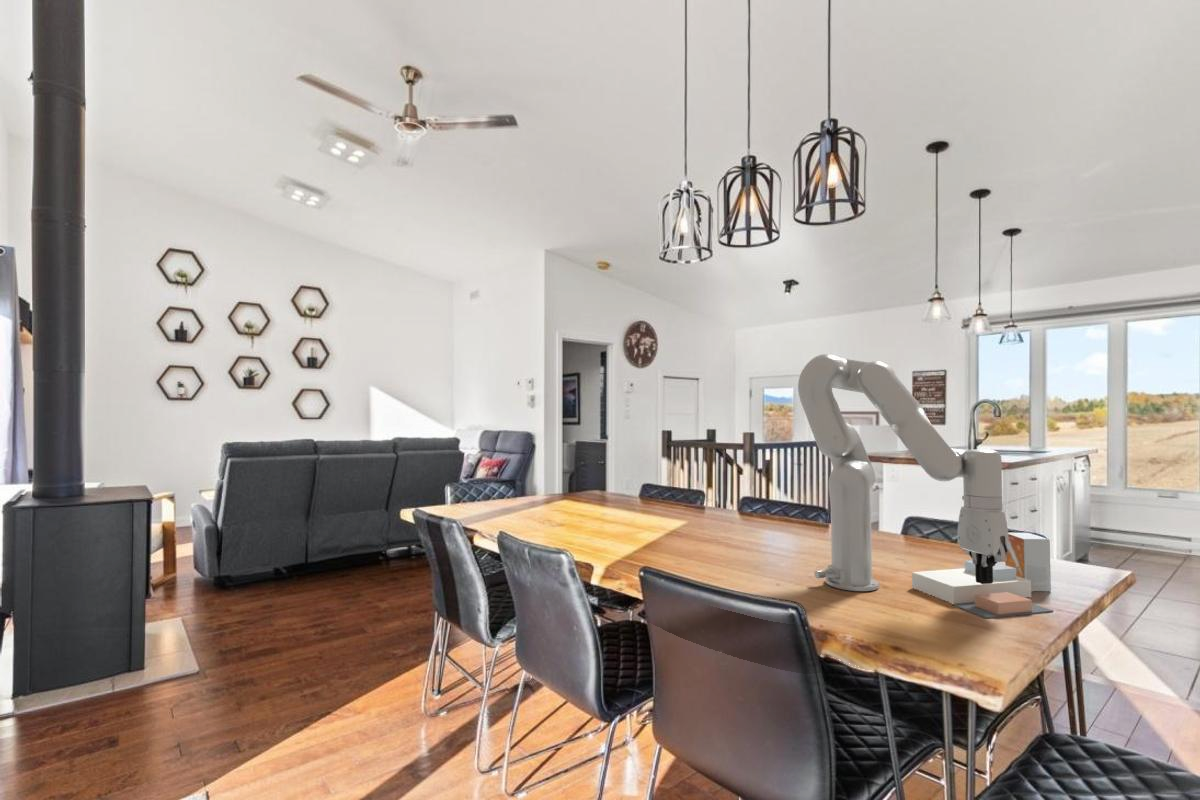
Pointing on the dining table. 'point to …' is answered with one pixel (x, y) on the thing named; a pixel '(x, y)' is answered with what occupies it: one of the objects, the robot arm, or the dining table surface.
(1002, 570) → the blue-grey tile
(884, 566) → the dining table surface
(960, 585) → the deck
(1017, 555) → the small box
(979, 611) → the mat
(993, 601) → the terracotta tile
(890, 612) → the dining table surface
